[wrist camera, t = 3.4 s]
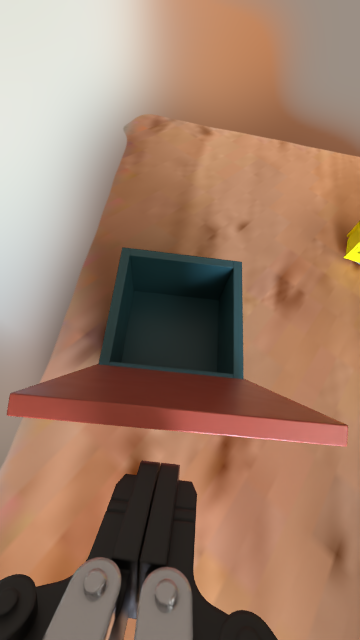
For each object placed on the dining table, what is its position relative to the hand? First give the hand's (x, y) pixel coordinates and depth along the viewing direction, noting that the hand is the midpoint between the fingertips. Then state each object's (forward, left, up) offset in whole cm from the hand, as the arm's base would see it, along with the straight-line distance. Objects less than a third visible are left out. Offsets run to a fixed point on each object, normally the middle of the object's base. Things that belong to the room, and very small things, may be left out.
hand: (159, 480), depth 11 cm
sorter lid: (-5, -2, -7) cm, 8 cm away
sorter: (-14, -6, -23) cm, 28 cm away
